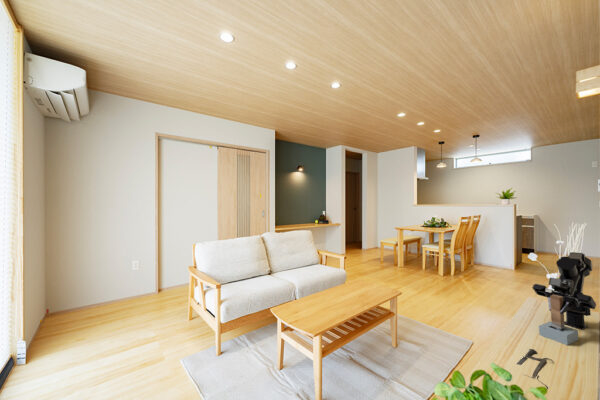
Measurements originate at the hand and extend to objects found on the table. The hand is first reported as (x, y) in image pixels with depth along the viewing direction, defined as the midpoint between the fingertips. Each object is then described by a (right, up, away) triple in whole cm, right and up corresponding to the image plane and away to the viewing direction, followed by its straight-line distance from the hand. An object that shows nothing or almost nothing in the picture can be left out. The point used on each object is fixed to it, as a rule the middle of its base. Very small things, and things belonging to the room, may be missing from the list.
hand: (555, 311), depth 107 cm
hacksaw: (-25, -12, -18) cm, 33 cm away
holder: (+2, -11, 0) cm, 11 cm away
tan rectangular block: (+2, -7, 0) cm, 7 cm away
